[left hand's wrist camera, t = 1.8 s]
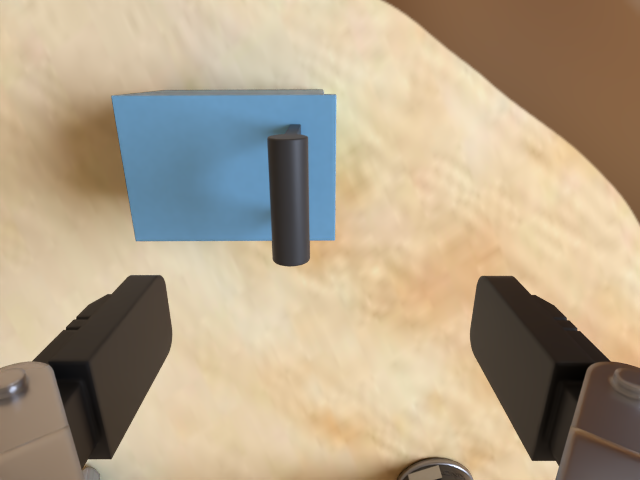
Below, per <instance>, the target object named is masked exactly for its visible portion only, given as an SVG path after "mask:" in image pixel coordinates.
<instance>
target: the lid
mask: <svg viewBox="0 0 640 480" xmlns="http://www.w3.org/2000/svg"><path fill="white" fill-rule="evenodd" d="M111 97H112V103H113V109H114V115H115V121H116V127H117V133H118V138H119V144H120V150H121V156H122V162H123V168H124V174H125V180H126V186H127V191H128V197H129V203H130V209H131V215H132V221H133V227H134V233H135V239H136V241H272V252H273V261H274V262H275V263H276V264H279V265H282V266H298V265H302V264H305V263H307V262H308V261H309V259H310V240H335V176H336V94H254V95H114V96H111Z"/></svg>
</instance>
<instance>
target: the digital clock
mask: <svg viewBox="0 0 640 480" xmlns="http://www.w3.org/2000/svg"><path fill="white" fill-rule="evenodd" d="M82 473H83V476H84V480H100V474H99V473H98V471H97V470H96V469H94V468H92V467H87V468H85V469H84V470H82Z"/></svg>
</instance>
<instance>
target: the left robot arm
mask: <svg viewBox="0 0 640 480" xmlns="http://www.w3.org/2000/svg"><path fill="white" fill-rule="evenodd" d="M470 342H471V347H472V351H473V354H474V356H475V358H476V359H477V361H478V363H479V365H480V367H481V368H482V370H483V372H484V374H485V376H486V378H487V379H488V381H489V383H490V385H491V387H492V389H493V390H494V392H495V394H496V396H497V398H498V399H499V401H500V403H501V405H502V407H503V409H504V410H505V412H506V414H507V416H508V418H509V420H510V421H511V423H512V425H513V427H514V429H515V431H516V432H517V434H518V436H519V438H520V440H521V441H522V443H523V445H524V447H525V449H526V451H527V452H528V454H529V456H530V458H531V460H532V461H556V462H557V464H558V465H559V469H558V473H557V476H556V480H640V368H638V367H635V366H632V365H628V364H624V363H618V362H611V361H610V360H609V359H608V358H607V357H606V356H605V355H604V354H603V353H602V352H601V351H600V350H599V349H598V348H597V347H596V346H595V345H593V344H592V343H591V342H590V341H589V340H588V339H587V338H586V337H585V336H584V335H583V334H582V333H581V332H580V331H577V328H576V327H575V326H574V325H573V324H572V323H571V322H570V321H569V320H567V318H566V317H565V316H564V315H563V314H562V313H561V312H560V311H559V310H558V309H557V308H556V307H555V306H554V305H552V304H550V303H549V302H547V301H545V300H543V299H541V298H540V297H538V296H536V295H531V294H530V293H529V292H528V291H527V290H526V289H525V288H524V287H523V286H522V285H521V284H520V283H519V282H518V281H517V279H516V278H514V277H513V276H481V277H480V278H479V280H478V283H477V287H476V294H475V301H474V308H473V314H472V321H471V328H470ZM171 343H172V325H171V319H170V312H169V305H168V298H167V291H166V285H165V281H164V279H163V277H162V276H160V275H130V276H129V277H127V278H126V280H125V281H124V282H123V283H122V284H121V285H120V286H119V287H118V288H117V289H116V290H115V291H114V292H113V293H112V294H107V295H105V296H104V297H102V298H100V299H98V300H96V301H95V302H93V303H91V304H89V305H88V306H87V307H86V308H85V309H84V310H83V311H82V312H81V313H80V314H79V315H78V316H77V317H76V320H73V321H72V322H71V323H70V324H69V325H68V326H67V327H66V330H63V331H62V332H61V333H60V334H59V335H58V336H57V337H56V338H55V339H54V340H53V341H52V342H51V343H50V344H49V345H48V346H47V347H46V348H45V349H44V350H43V351H42V352H41V353H40V354H39V355H38V356H37V357H36V358H35V359H34V360H33V361H32V362H22V363H16V364H12V365H8V366H5V367H2V368H0V480H84V476H83V473H82V468H83V466H84V465H85V463H86V462H87V460H88V459H112V457H113V455H114V453H115V452H116V450H117V448H118V446H119V444H120V442H121V440H122V439H123V437H124V435H125V433H126V431H127V429H128V427H129V426H130V424H131V422H132V420H133V418H134V416H135V415H136V413H137V411H138V409H139V407H140V405H141V403H142V402H143V400H144V398H145V396H146V394H147V392H148V391H149V389H150V387H151V385H152V383H153V381H154V379H155V378H156V376H157V374H158V372H159V370H160V368H161V367H162V365H163V363H164V361H165V359H166V357H167V355H168V353H169V351H170V348H171ZM397 480H473V478H472V475H471V473H470V472H469V471H468V469H467V468H465V467H464V466H463V465H461V464H460V463H458V462H455V461H452V460H449V459H441V458H434V459H427V460H423V461H420V462H417V463H415V464H413V465H411V466H409V467H408V468H406V469H405V470H404V471H403V472H402V473H401V474H400V476H399V477H398V479H397Z"/></svg>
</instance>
